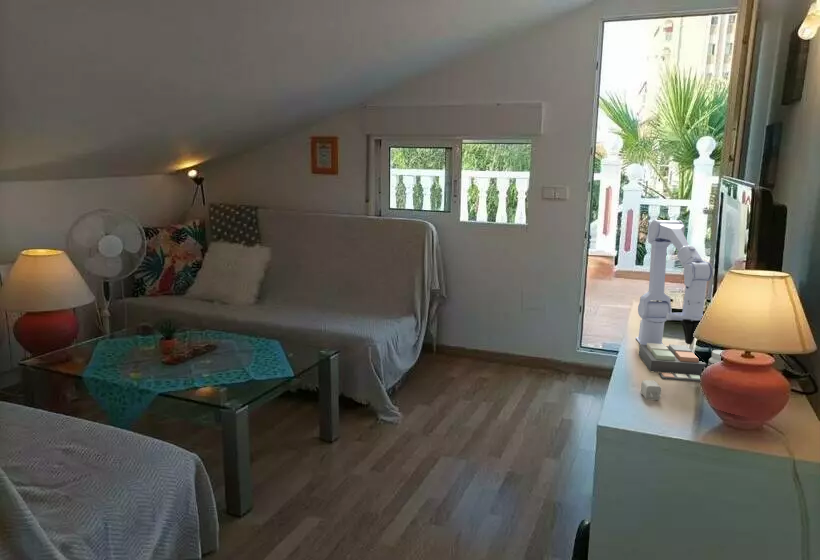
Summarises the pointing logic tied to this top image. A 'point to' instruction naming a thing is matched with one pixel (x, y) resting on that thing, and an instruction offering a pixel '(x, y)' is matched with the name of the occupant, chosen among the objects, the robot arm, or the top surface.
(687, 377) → the strip
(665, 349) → the ivory key
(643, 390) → the usb wall charger
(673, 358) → the sage key
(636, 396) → the top surface
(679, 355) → the terracotta key
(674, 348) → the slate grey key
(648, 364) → the keyguard pad
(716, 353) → the pill bottle
